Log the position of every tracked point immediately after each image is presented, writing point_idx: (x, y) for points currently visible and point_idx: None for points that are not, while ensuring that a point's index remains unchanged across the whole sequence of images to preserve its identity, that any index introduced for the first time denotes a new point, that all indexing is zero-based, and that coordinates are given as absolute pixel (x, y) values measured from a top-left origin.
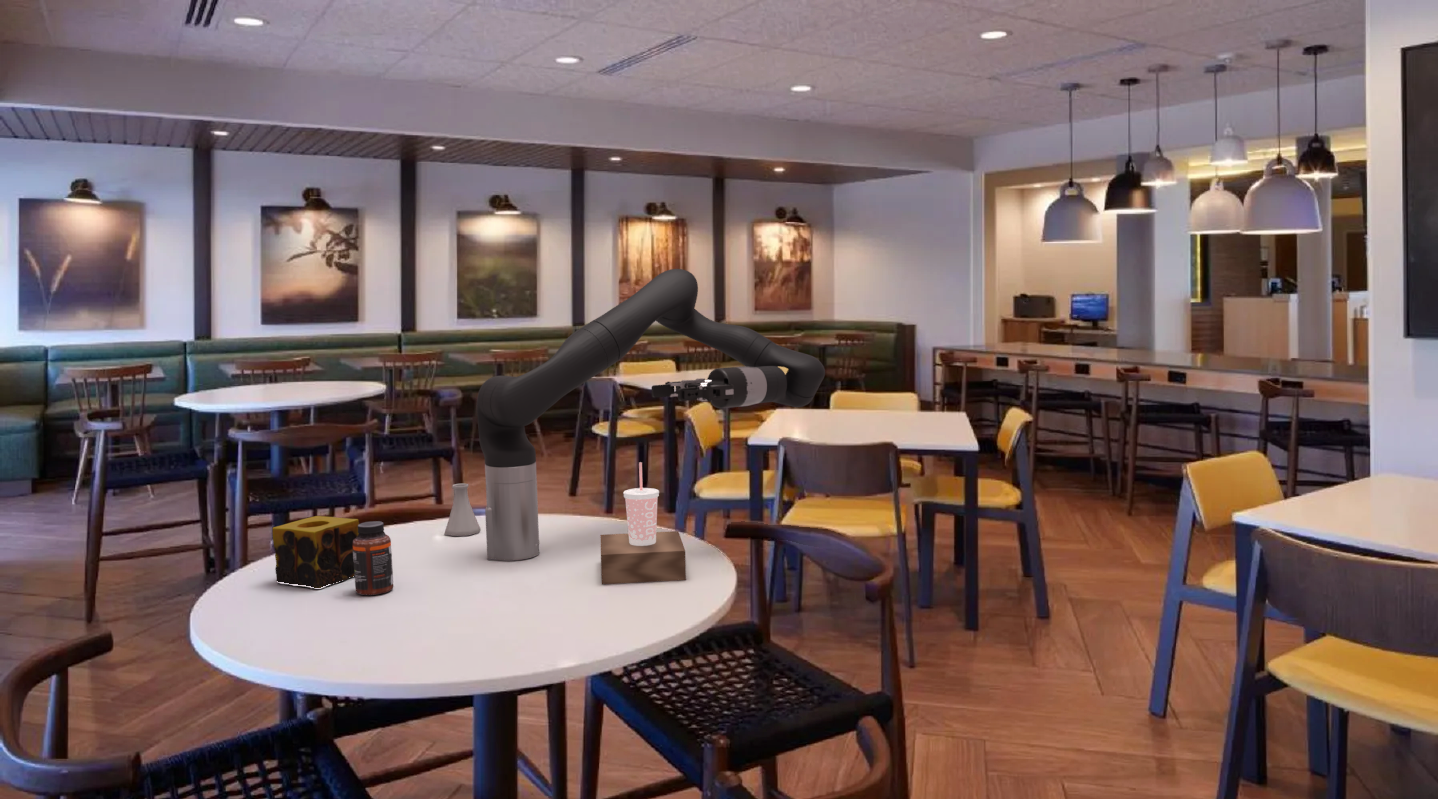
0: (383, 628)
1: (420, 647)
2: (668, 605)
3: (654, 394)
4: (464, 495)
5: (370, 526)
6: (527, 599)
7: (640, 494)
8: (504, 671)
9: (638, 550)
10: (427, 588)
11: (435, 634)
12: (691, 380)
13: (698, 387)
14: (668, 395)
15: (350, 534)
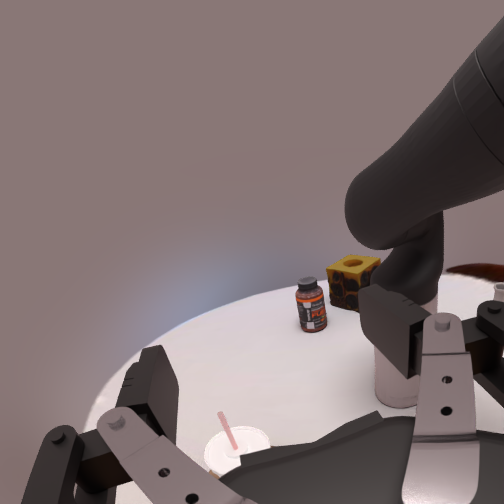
0: (227, 339)
1: (181, 353)
2: (132, 485)
3: (363, 322)
4: (497, 299)
5: (298, 281)
6: (233, 402)
7: (218, 444)
8: (117, 378)
9: (219, 477)
10: (307, 348)
11: (197, 358)
12: (420, 408)
13: (119, 410)
14: (400, 369)
15: (354, 281)
